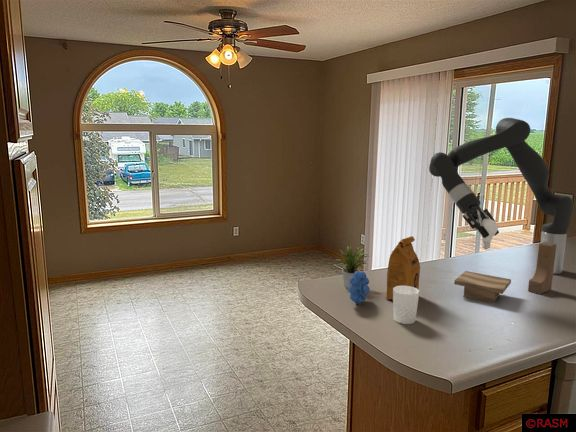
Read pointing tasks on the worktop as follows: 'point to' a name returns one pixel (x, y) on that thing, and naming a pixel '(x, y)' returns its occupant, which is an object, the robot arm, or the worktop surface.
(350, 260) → the house plant
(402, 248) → the coffee package
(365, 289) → the grapes
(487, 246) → the lightbulb
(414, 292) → the white cup
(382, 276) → the worktop surface
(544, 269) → the wooden block
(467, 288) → the stand
